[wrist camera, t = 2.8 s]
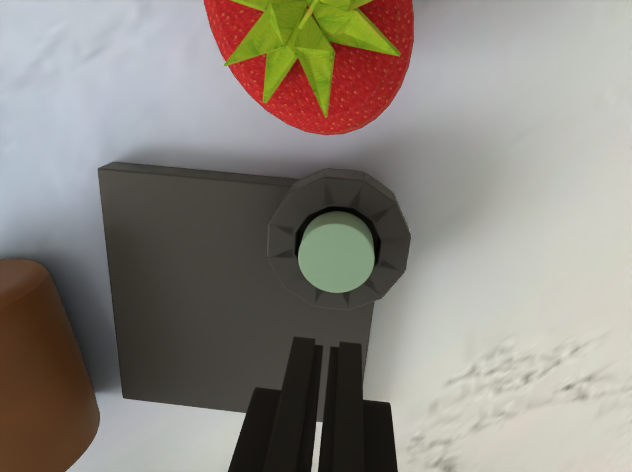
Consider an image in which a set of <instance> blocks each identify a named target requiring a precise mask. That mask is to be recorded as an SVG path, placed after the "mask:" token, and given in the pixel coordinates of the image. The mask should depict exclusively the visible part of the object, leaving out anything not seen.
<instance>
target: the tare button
mask: <svg viewBox="0 0 632 472" xmlns="http://www.w3.org/2000/svg"><path fill="white" fill-rule="evenodd" d="M374 260H375V257H374V246H373V238H372V234H371V232H370V230H369V228H368V227H367V225H366V224H365V223H364V222H363V221H362V220H361V219H360V218H358V217H357V216H355V215H353V214H350V213H347V212H342V211H332V212H327V213H324V214H322V215H320V216H318V217H316V218H315V219H314V220H313V221H311V223H310V224H309V225H308V226H307V228H306V230H305V232H304V235H303V238H302V241H301V245H300V248H299V253H298V261H299V266H300V269H301V271H302V273H303V275H304V276H305V278H306V279H307V280H308V281H309V282H310V283H311V284H313V285H314V286H315V287H317V288H319V289H321V290H324V291H327V292H333V293H341V292H347V291H350V290H353V289H355V288H357V287H359V286H360V285H361V284H363V283H364V282H365V281H366V280H367V278H368V277H369V276H370V274H371V272H372V270H373V267H374Z"/></svg>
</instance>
